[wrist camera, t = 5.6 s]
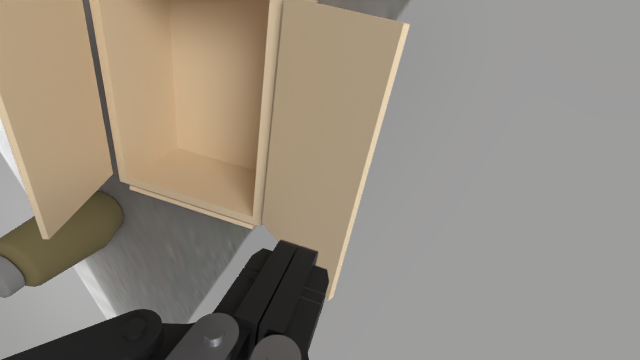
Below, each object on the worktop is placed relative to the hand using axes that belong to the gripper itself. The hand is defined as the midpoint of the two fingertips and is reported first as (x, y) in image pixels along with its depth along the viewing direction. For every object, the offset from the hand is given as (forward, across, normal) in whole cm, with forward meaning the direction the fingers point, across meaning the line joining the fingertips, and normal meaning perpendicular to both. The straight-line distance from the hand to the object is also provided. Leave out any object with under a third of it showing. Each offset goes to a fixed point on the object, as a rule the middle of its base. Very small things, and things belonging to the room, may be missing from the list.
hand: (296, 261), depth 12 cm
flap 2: (+12, +6, 0) cm, 13 cm away
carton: (+20, +13, 0) cm, 24 cm away
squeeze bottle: (+20, +32, +22) cm, 44 cm away
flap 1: (+12, +21, 0) cm, 24 cm away
